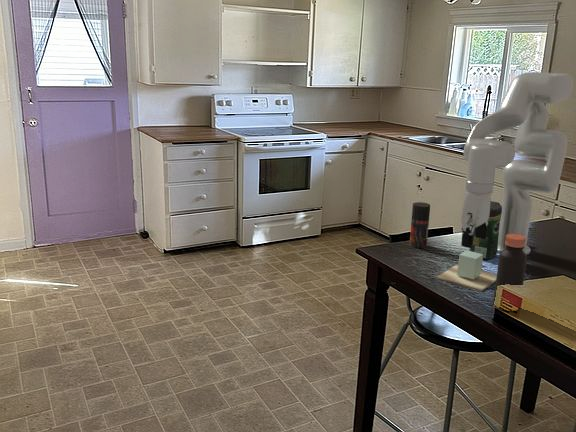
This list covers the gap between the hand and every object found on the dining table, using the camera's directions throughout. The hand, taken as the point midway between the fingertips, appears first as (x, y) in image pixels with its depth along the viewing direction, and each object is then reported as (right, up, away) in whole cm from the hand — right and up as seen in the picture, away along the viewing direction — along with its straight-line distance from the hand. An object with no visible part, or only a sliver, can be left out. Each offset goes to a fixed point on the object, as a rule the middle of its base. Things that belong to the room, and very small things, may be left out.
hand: (473, 242), depth 167 cm
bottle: (+3, -17, -16) cm, 23 cm away
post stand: (-1, -11, +3) cm, 11 cm away
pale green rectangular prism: (-1, -10, +2) cm, 10 cm away
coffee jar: (+10, -6, +22) cm, 25 cm away
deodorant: (-10, -3, +31) cm, 32 cm away
